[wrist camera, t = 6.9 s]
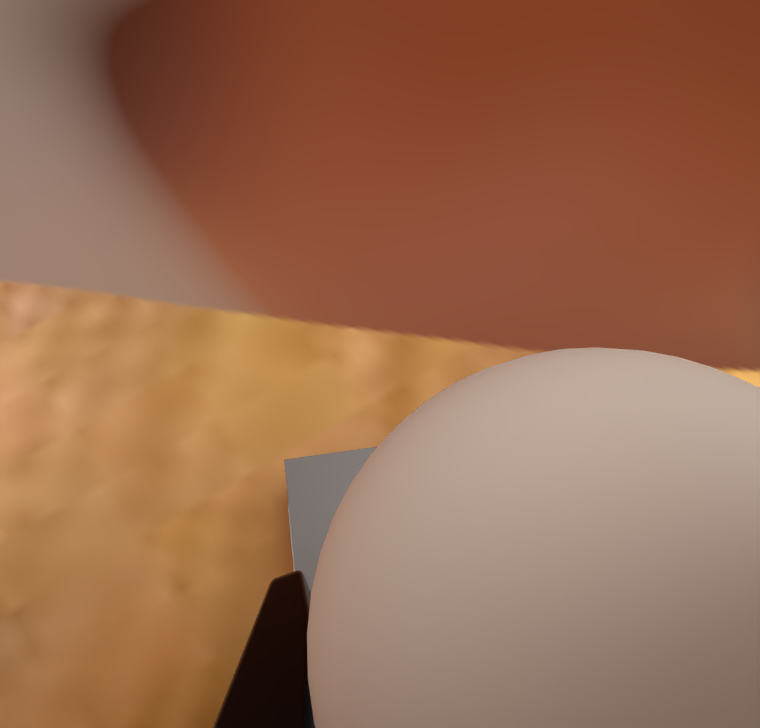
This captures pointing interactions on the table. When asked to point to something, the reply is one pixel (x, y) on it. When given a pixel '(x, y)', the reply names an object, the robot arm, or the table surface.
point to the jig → (317, 501)
